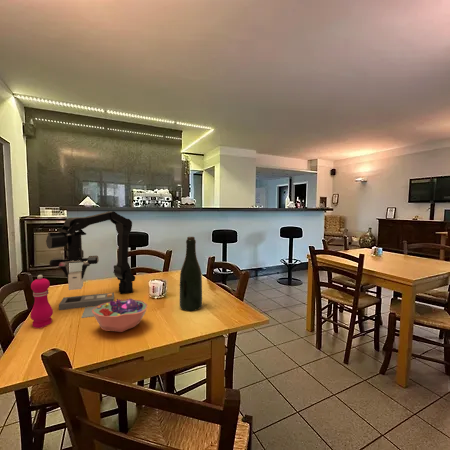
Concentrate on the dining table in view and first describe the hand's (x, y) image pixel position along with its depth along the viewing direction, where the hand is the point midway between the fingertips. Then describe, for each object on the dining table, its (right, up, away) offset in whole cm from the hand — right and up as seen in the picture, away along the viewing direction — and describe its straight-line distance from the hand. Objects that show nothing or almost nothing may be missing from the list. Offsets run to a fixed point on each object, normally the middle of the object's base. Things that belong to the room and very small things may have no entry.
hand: (75, 279), depth 119 cm
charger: (0, -4, 0) cm, 4 cm away
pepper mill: (-4, -15, -17) cm, 22 cm away
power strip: (+4, -13, +4) cm, 14 cm away
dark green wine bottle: (+52, -14, +2) cm, 54 cm away
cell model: (+28, -15, -19) cm, 37 cm away
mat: (+12, -13, -4) cm, 19 cm away
